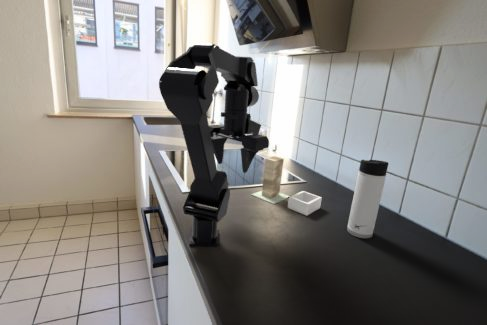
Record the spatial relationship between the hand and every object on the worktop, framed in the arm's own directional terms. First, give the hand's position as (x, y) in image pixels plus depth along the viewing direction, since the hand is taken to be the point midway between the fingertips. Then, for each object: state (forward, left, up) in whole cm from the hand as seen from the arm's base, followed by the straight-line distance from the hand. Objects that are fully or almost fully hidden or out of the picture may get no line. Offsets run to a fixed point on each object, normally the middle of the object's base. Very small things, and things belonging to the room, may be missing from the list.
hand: (232, 167), depth 77 cm
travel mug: (-9, -34, -13) cm, 38 cm away
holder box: (+5, -23, -13) cm, 27 cm away
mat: (+13, -14, -13) cm, 23 cm away
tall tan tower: (+13, -14, -13) cm, 23 cm away
